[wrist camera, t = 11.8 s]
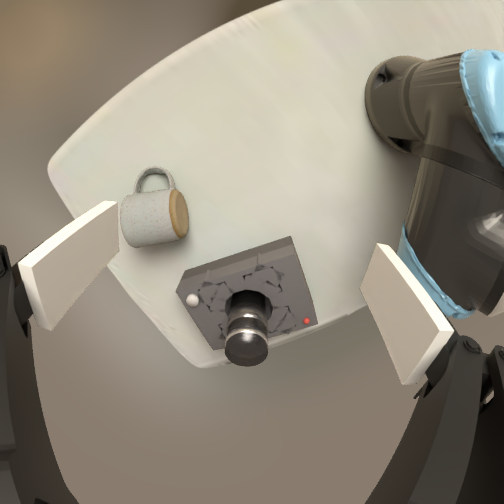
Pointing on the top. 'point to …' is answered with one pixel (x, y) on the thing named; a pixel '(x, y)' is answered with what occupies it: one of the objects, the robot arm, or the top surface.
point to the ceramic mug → (153, 214)
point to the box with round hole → (250, 278)
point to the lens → (247, 329)
